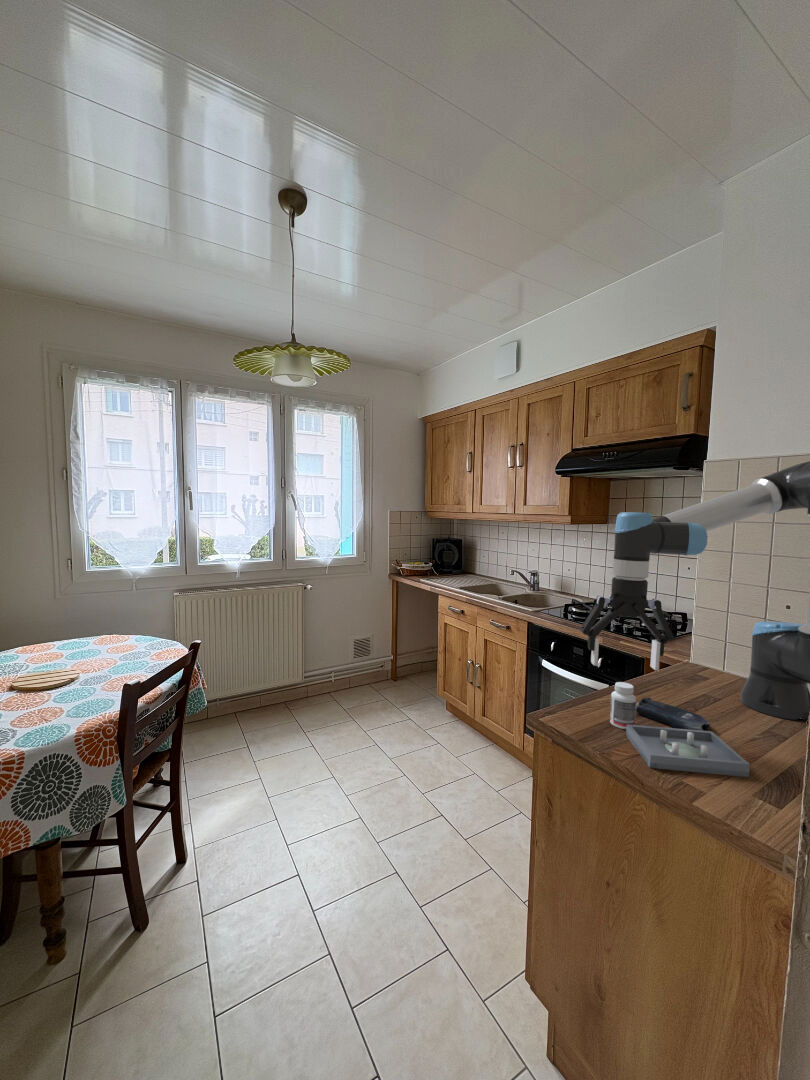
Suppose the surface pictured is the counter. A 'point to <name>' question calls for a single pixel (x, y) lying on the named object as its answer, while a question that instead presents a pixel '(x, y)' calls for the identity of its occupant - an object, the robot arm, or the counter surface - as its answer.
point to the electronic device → (671, 715)
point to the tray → (686, 750)
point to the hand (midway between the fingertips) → (623, 666)
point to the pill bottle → (623, 705)
